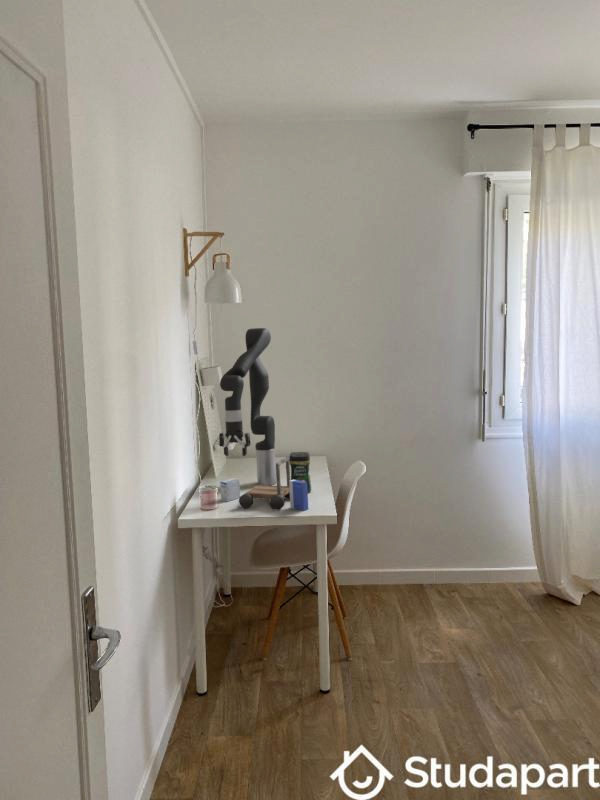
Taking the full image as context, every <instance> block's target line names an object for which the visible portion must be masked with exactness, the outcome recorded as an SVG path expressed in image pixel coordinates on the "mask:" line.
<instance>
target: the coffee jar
mask: <svg viewBox="0 0 600 800" xmlns="http://www.w3.org/2000/svg"><path fill="white" fill-rule="evenodd" d="M310 463H311V456H310V452H309V451H292V452H291V453H289V465H290V480H300V481H302V480H304V481H305V482H307V492H308V493H311V491H312V481H311V474H310V473H311V472H310Z"/></svg>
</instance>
